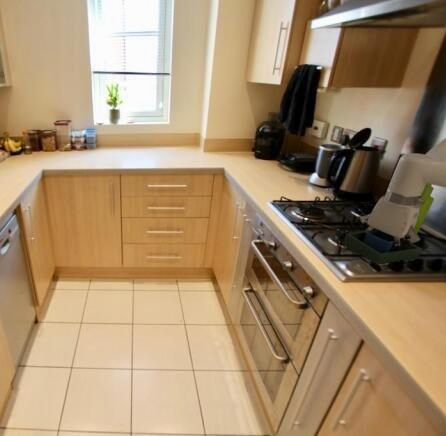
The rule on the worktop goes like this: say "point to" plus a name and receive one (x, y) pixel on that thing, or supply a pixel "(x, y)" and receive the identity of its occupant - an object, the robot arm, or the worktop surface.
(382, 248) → the small bin
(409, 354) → the worktop surface
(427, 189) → the soap dispenser
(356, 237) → the big bin
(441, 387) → the worktop surface
